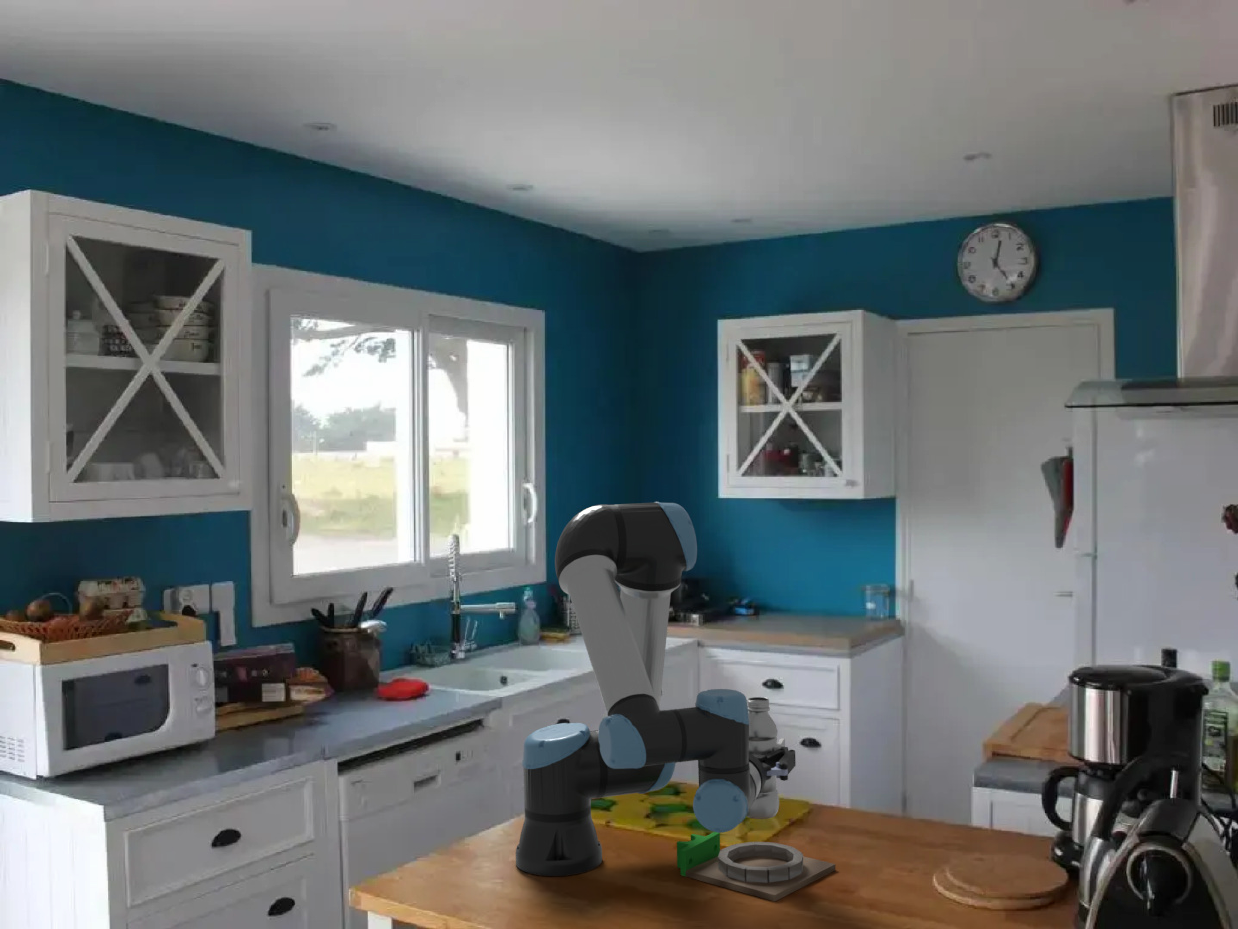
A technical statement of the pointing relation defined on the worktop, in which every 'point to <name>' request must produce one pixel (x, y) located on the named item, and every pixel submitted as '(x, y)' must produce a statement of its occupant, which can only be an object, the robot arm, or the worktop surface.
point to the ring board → (761, 888)
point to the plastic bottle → (762, 744)
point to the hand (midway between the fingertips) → (763, 745)
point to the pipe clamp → (697, 851)
